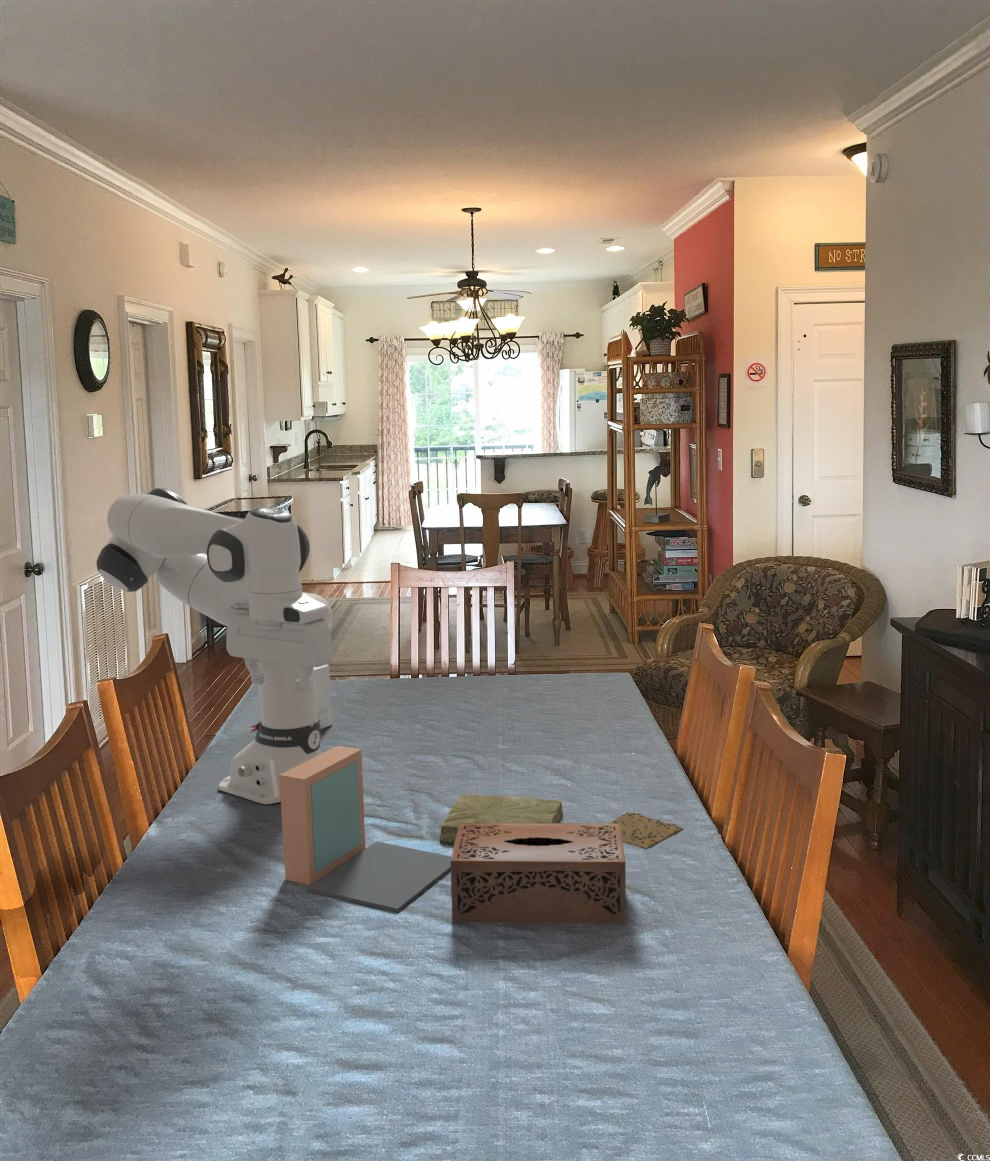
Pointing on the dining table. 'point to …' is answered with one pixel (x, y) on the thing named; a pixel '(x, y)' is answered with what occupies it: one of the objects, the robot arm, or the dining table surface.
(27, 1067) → the dining table surface
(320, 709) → the supplement box
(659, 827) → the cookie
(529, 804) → the decorative tile
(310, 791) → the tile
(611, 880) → the tissue box cover
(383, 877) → the slate mat
